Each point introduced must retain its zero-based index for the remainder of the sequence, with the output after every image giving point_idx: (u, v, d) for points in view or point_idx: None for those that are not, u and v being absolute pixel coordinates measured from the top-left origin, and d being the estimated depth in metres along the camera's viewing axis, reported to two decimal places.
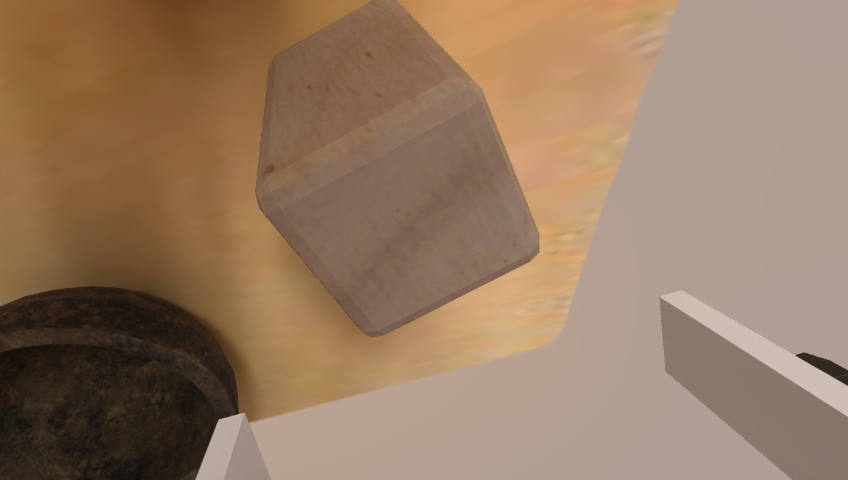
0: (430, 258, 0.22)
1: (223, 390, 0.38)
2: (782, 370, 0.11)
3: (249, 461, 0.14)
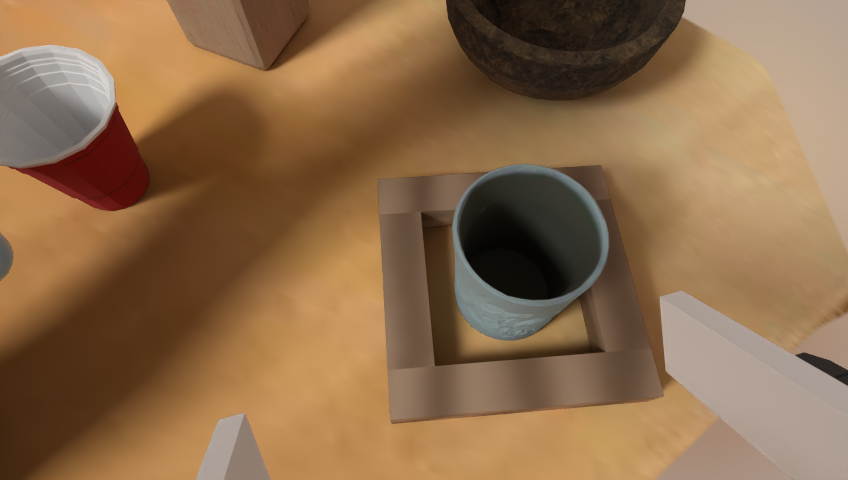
0: None
1: None
2: (782, 370, 0.11)
3: (249, 461, 0.14)
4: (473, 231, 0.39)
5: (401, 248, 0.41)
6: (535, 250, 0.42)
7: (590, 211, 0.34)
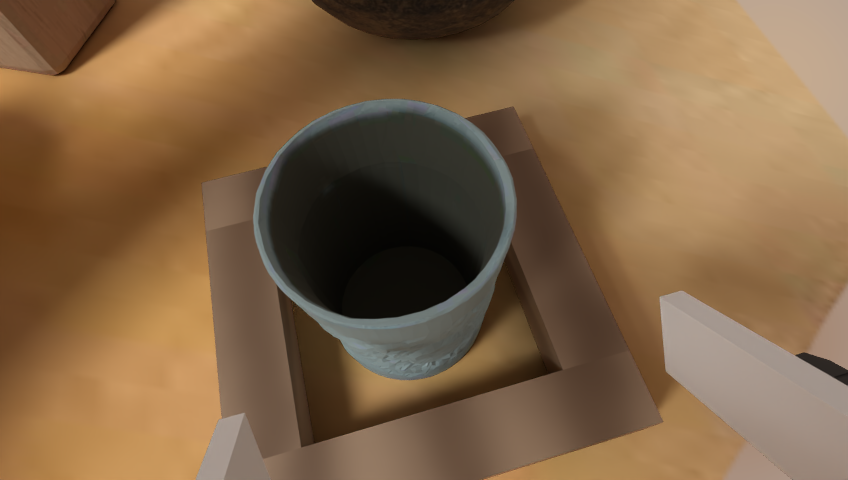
0: None
1: None
2: (782, 370, 0.11)
3: (249, 461, 0.14)
4: (330, 226, 0.26)
5: (240, 273, 0.28)
6: (439, 239, 0.29)
7: (481, 153, 0.21)
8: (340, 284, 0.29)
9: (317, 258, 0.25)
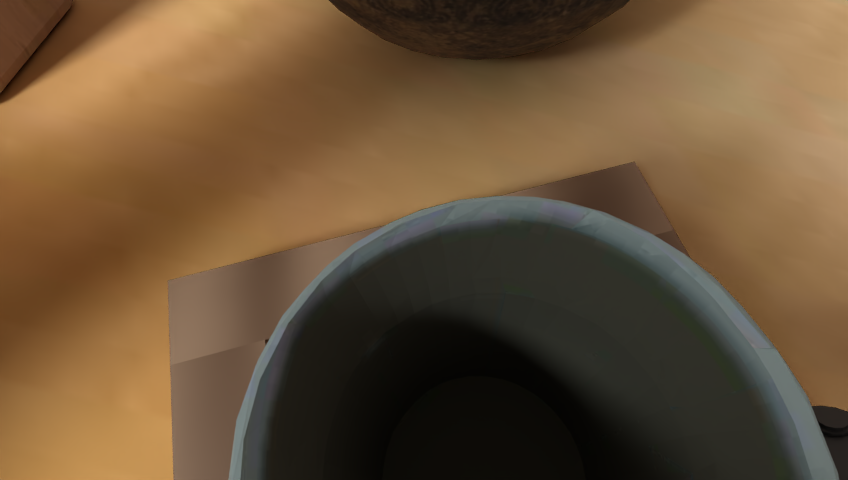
0: None
1: None
2: None
3: None
4: (373, 389, 0.15)
5: (222, 443, 0.17)
6: (538, 379, 0.18)
7: (707, 319, 0.10)
8: (381, 450, 0.18)
9: (352, 449, 0.14)
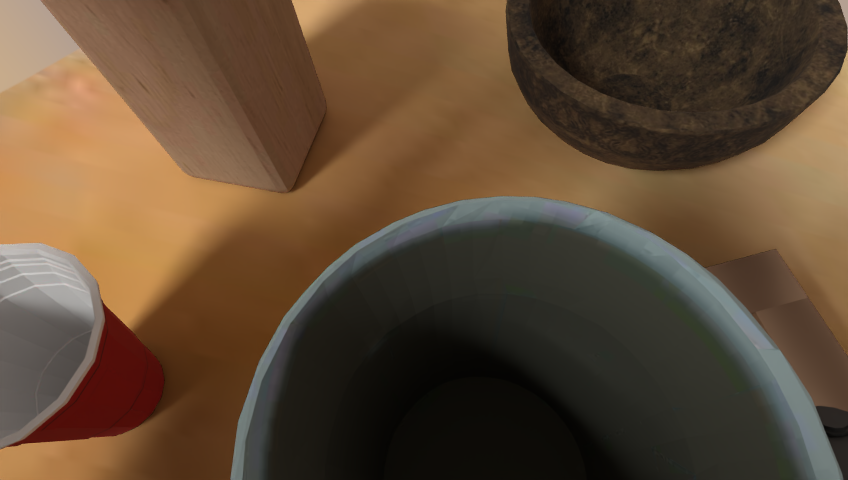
0: None
1: None
2: None
3: None
4: (374, 390, 0.15)
5: None
6: (539, 379, 0.18)
7: (710, 319, 0.10)
8: (382, 451, 0.18)
9: (353, 450, 0.14)
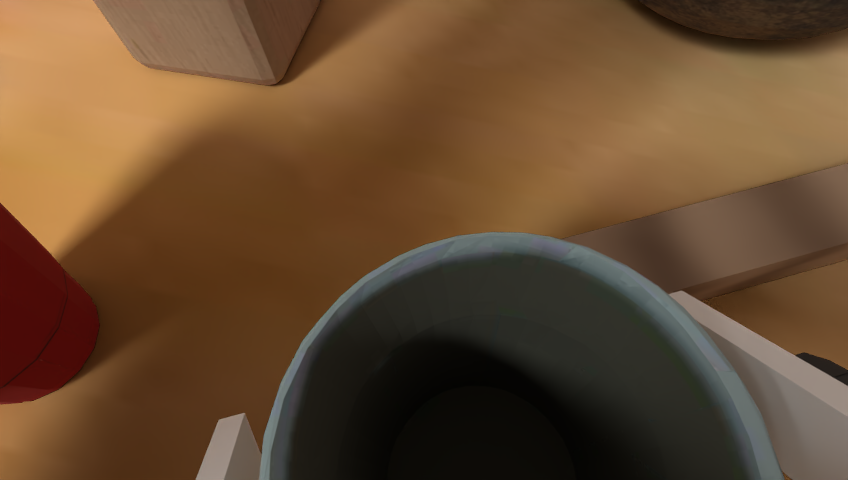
0: None
1: None
2: (782, 370, 0.11)
3: (249, 461, 0.14)
4: (379, 401, 0.16)
5: None
6: (532, 389, 0.20)
7: (677, 343, 0.11)
8: (385, 456, 0.20)
9: (360, 457, 0.16)
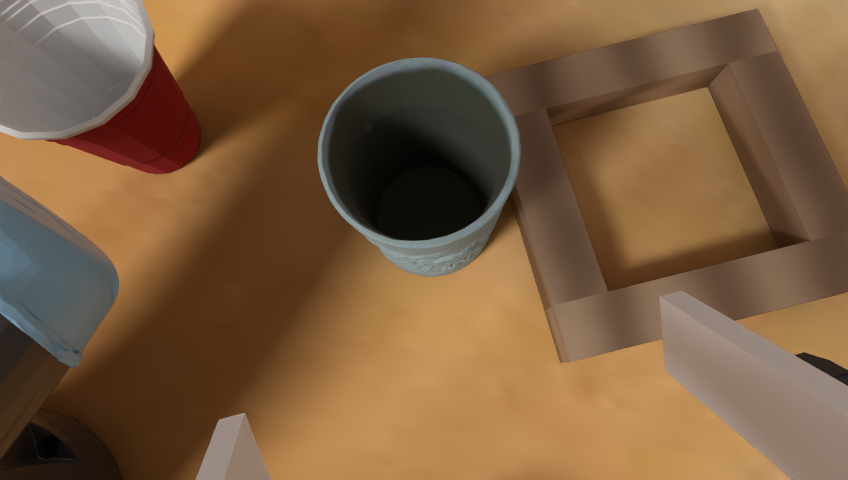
0: None
1: None
2: (782, 370, 0.11)
3: (249, 461, 0.14)
4: (369, 155, 0.31)
5: (533, 157, 0.34)
6: (458, 163, 0.35)
7: (495, 107, 0.26)
8: (375, 199, 0.35)
9: (360, 182, 0.31)
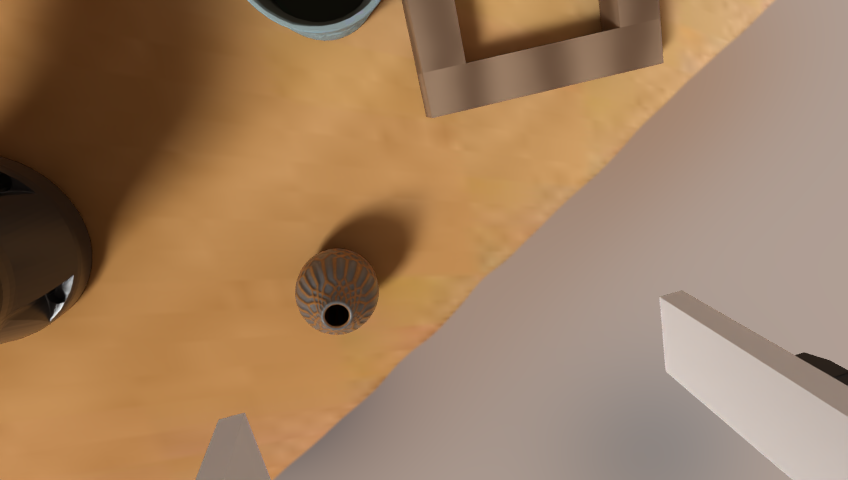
0: None
1: None
2: (782, 370, 0.11)
3: (249, 461, 0.14)
4: None
5: None
6: None
7: None
8: None
9: None
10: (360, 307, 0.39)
